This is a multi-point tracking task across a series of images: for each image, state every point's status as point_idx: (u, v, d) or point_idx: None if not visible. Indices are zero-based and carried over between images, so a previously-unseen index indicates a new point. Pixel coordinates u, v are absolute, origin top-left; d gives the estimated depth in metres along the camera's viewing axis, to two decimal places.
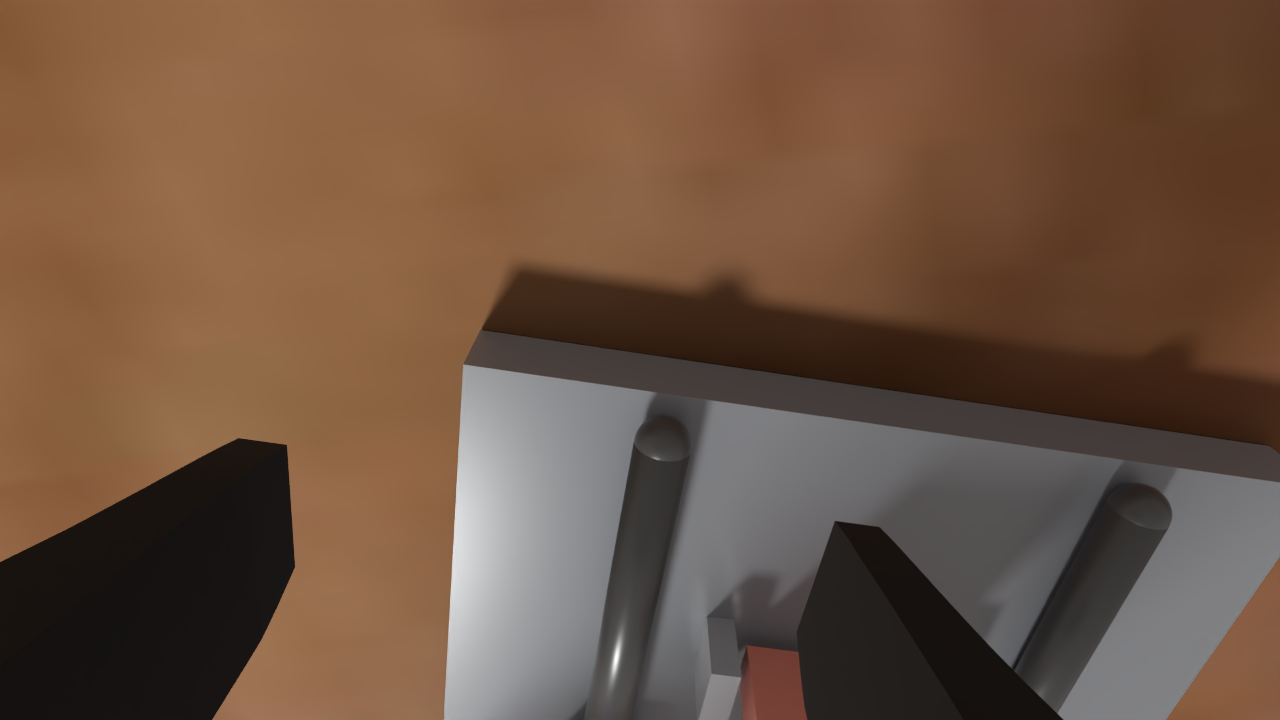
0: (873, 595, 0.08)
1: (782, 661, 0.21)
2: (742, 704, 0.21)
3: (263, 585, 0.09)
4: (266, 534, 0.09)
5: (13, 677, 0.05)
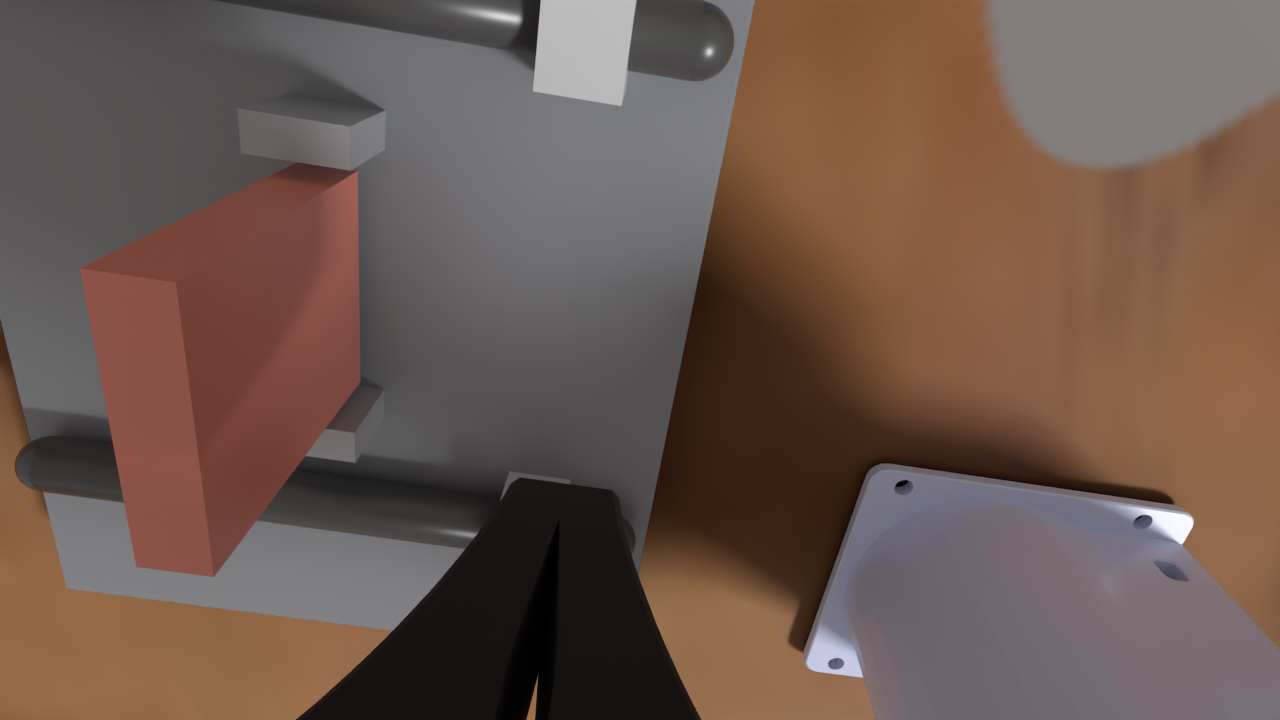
0: (557, 553, 0.08)
1: None
2: None
3: (545, 621, 0.09)
4: None
5: None
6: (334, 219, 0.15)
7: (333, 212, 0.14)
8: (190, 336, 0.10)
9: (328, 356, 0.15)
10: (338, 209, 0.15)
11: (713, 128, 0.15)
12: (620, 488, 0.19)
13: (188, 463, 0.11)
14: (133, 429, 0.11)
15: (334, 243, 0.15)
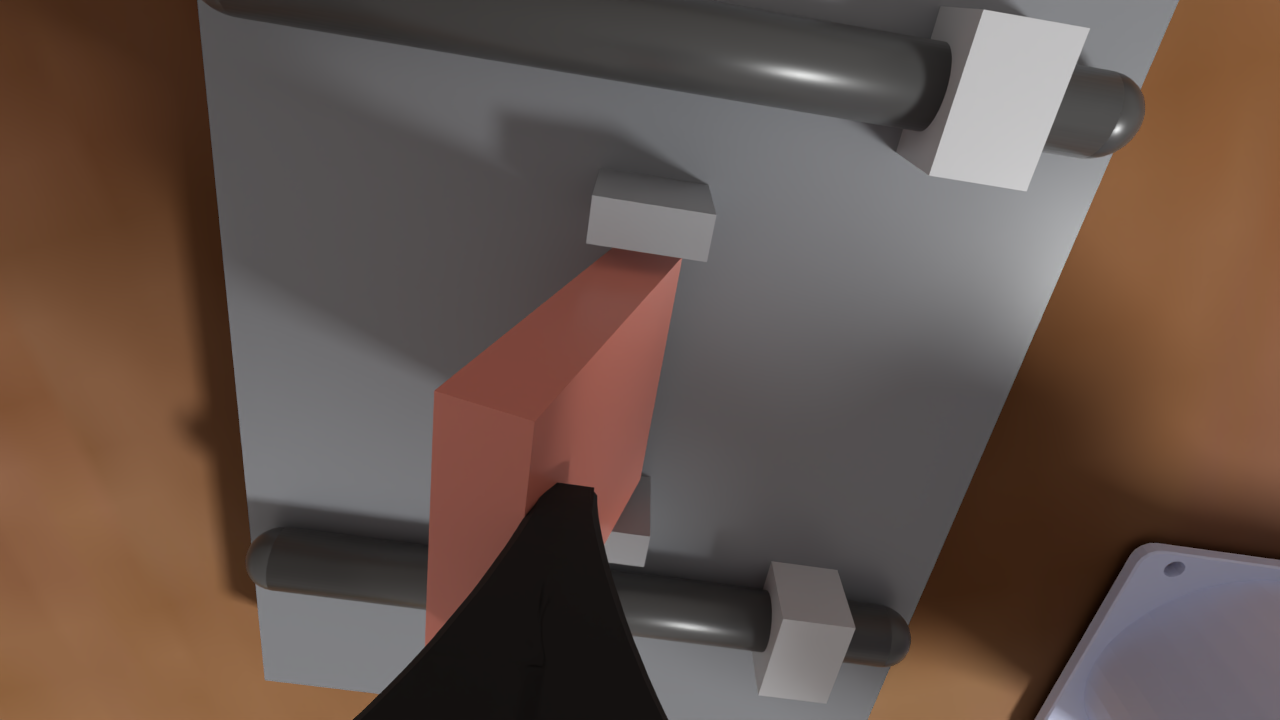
0: (531, 549, 0.08)
1: None
2: None
3: None
4: None
5: None
6: (657, 313, 0.13)
7: (658, 306, 0.13)
8: (533, 477, 0.08)
9: (625, 460, 0.14)
10: (662, 301, 0.13)
11: (1072, 205, 0.14)
12: (890, 578, 0.18)
13: None
14: (452, 565, 0.09)
15: (652, 339, 0.13)
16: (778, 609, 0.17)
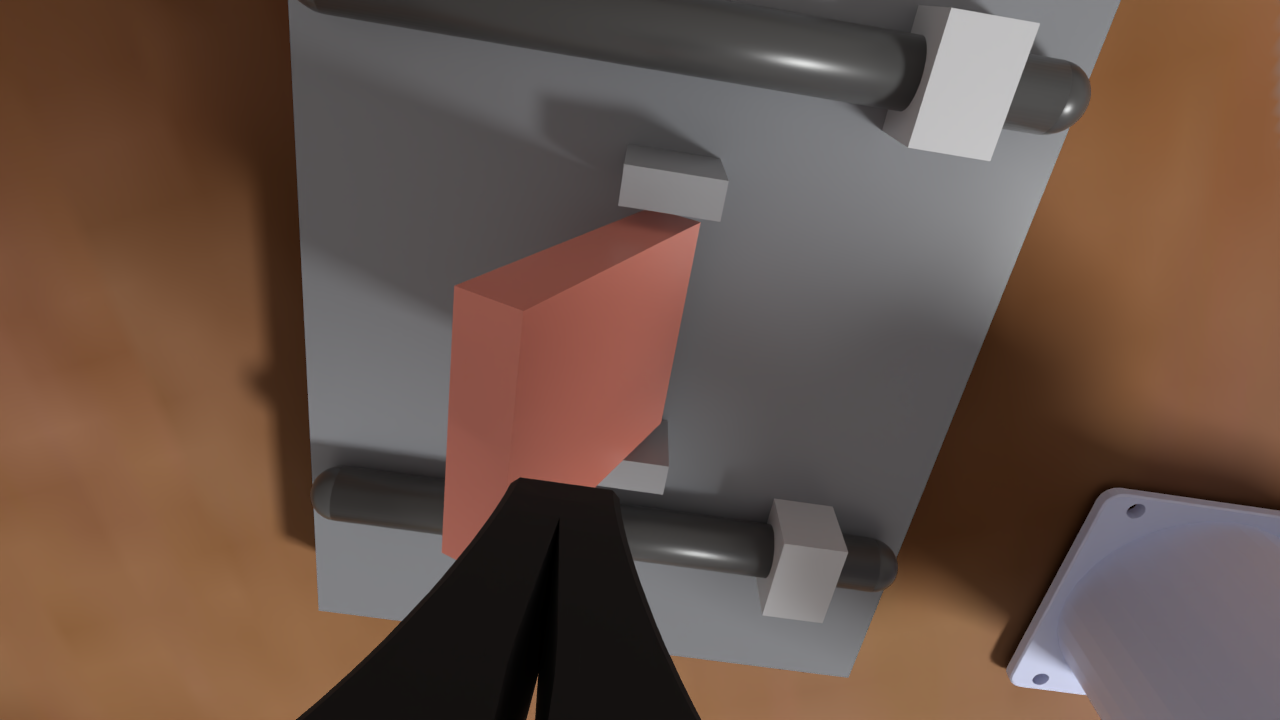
0: (558, 554, 0.08)
1: None
2: None
3: (545, 621, 0.09)
4: None
5: None
6: (669, 266, 0.15)
7: (670, 259, 0.15)
8: (524, 360, 0.11)
9: (638, 394, 0.16)
10: (675, 257, 0.15)
11: (1034, 176, 0.16)
12: (879, 514, 0.20)
13: (499, 474, 0.12)
14: (464, 432, 0.12)
15: (664, 289, 0.15)
16: (780, 537, 0.19)
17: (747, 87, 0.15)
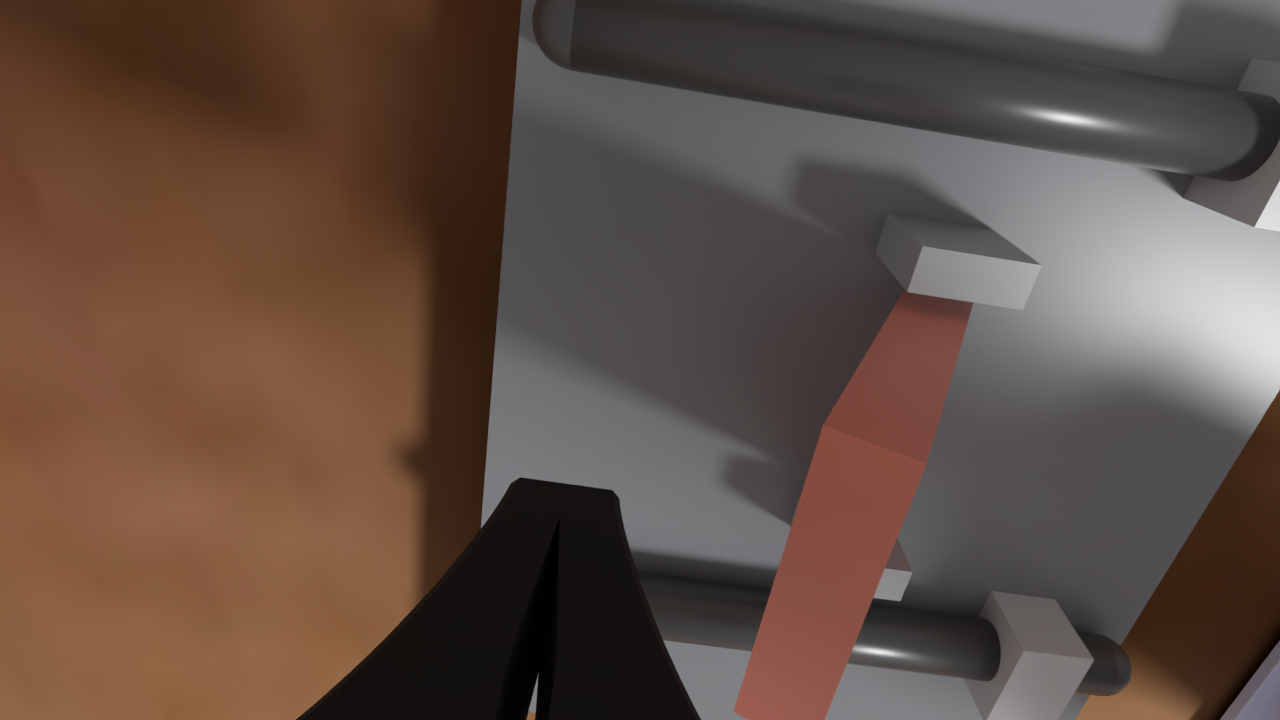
0: (558, 553, 0.08)
1: None
2: None
3: (545, 621, 0.09)
4: None
5: None
6: None
7: None
8: (905, 515, 0.09)
9: None
10: None
11: None
12: (1105, 607, 0.18)
13: (842, 639, 0.10)
14: (799, 588, 0.10)
15: None
16: (1012, 640, 0.17)
17: (1036, 150, 0.13)
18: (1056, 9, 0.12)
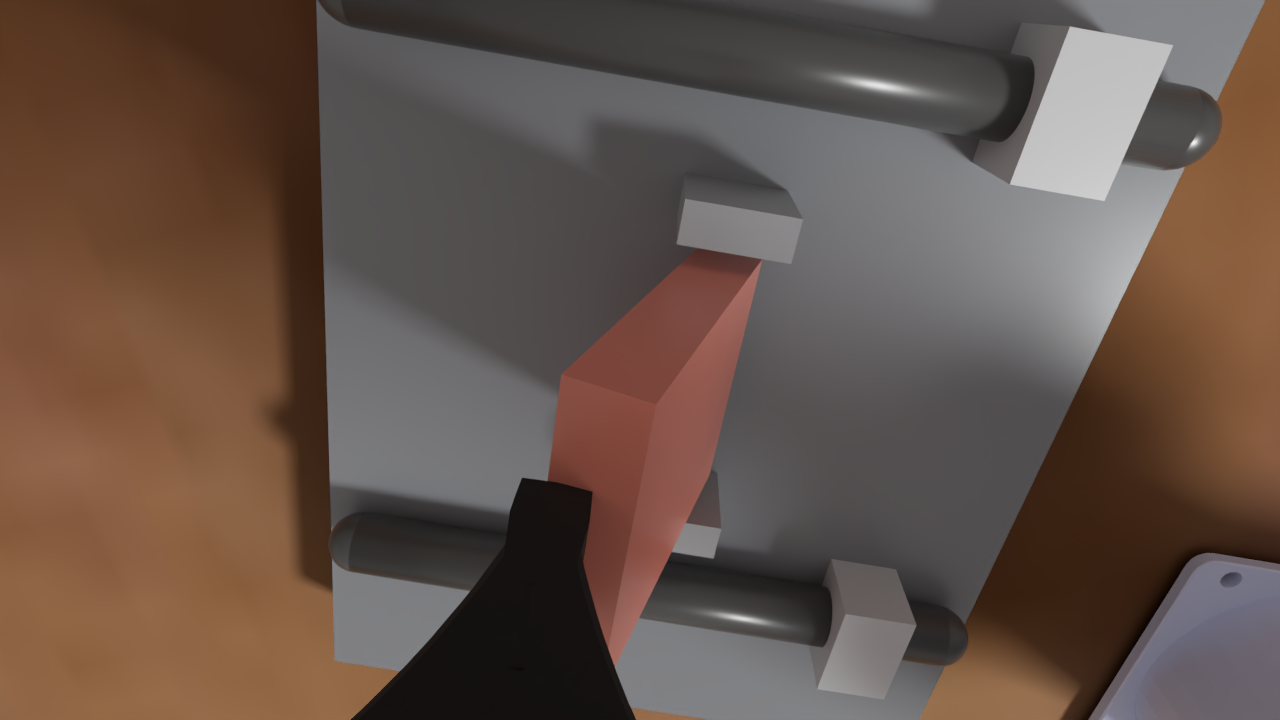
0: (505, 547, 0.08)
1: None
2: None
3: None
4: None
5: None
6: (740, 312, 0.13)
7: (741, 305, 0.13)
8: (648, 458, 0.09)
9: (703, 452, 0.14)
10: (744, 301, 0.14)
11: (1143, 215, 0.14)
12: (947, 579, 0.18)
13: (608, 586, 0.10)
14: None
15: (733, 337, 0.14)
16: (840, 605, 0.17)
17: (821, 112, 0.14)
18: None
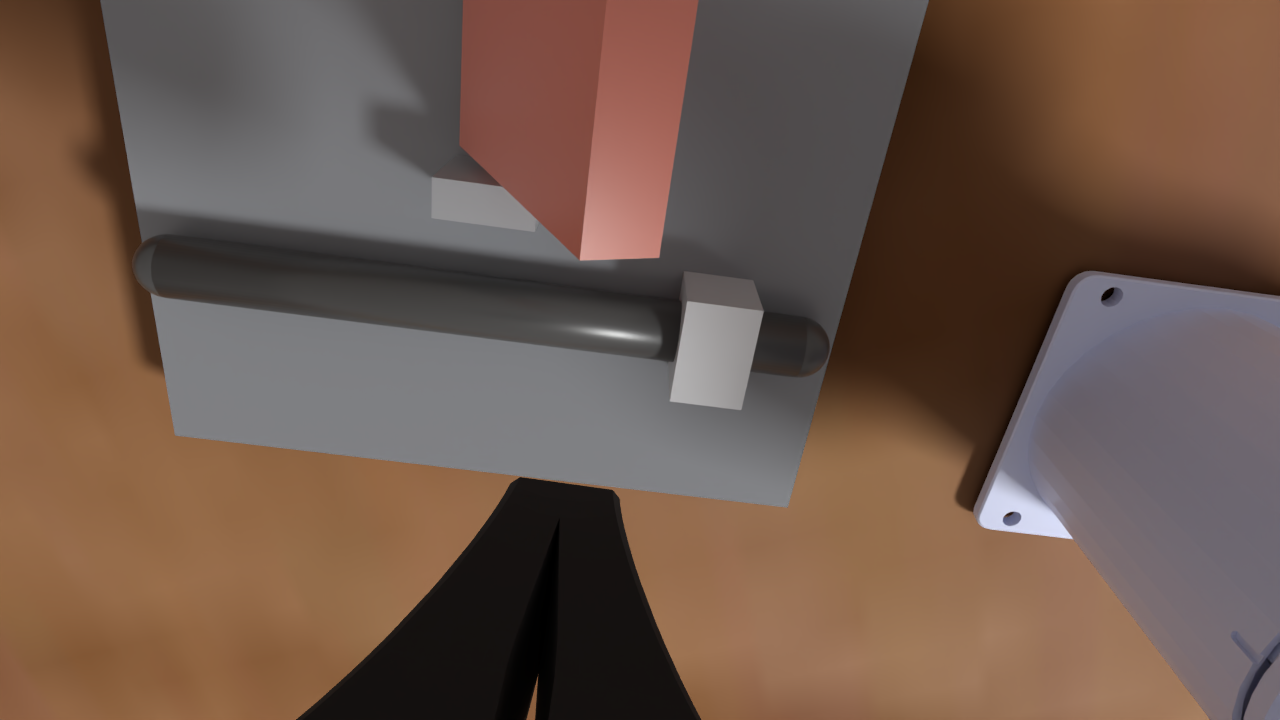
0: (557, 553, 0.08)
1: (466, 98, 0.14)
2: None
3: (545, 621, 0.09)
4: None
5: None
6: None
7: None
8: None
9: None
10: None
11: None
12: (808, 289, 0.17)
13: (673, 96, 0.09)
14: (626, 52, 0.09)
15: None
16: (685, 300, 0.16)
17: None
18: None
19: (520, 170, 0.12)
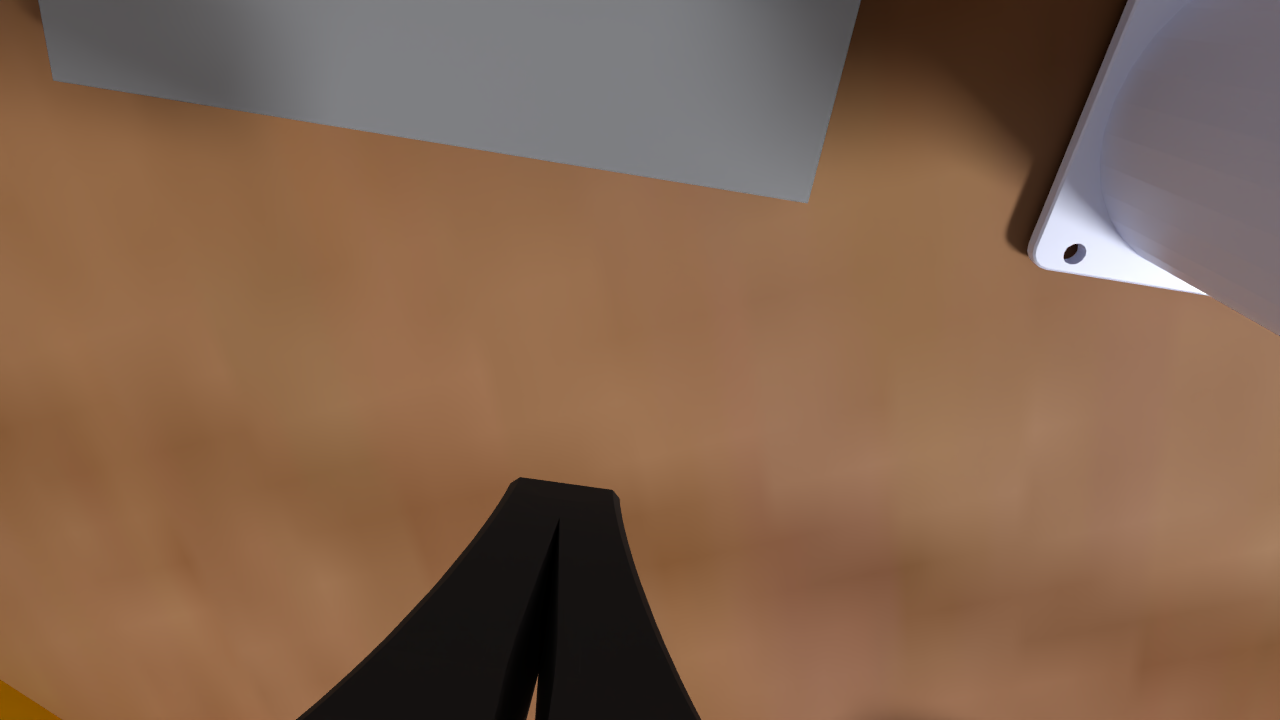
0: (558, 553, 0.08)
1: None
2: None
3: (545, 621, 0.09)
4: None
5: None
6: None
7: None
8: None
9: None
10: None
11: None
12: None
13: None
14: None
15: None
16: None
17: None
18: None
19: None
